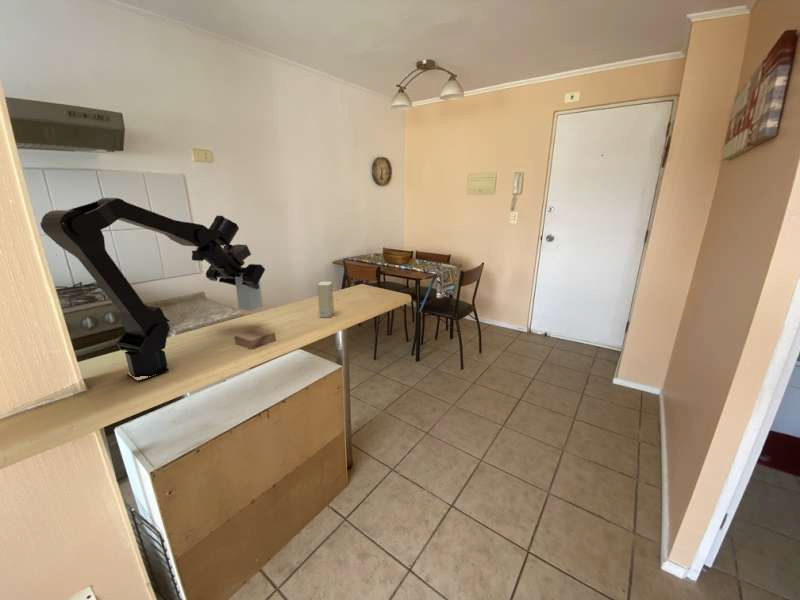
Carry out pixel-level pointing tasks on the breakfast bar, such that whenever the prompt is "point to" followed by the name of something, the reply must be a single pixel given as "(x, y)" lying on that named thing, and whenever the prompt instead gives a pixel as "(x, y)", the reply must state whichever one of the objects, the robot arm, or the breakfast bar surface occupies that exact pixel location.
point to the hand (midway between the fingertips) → (251, 287)
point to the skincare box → (325, 299)
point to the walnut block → (254, 338)
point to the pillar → (248, 295)
